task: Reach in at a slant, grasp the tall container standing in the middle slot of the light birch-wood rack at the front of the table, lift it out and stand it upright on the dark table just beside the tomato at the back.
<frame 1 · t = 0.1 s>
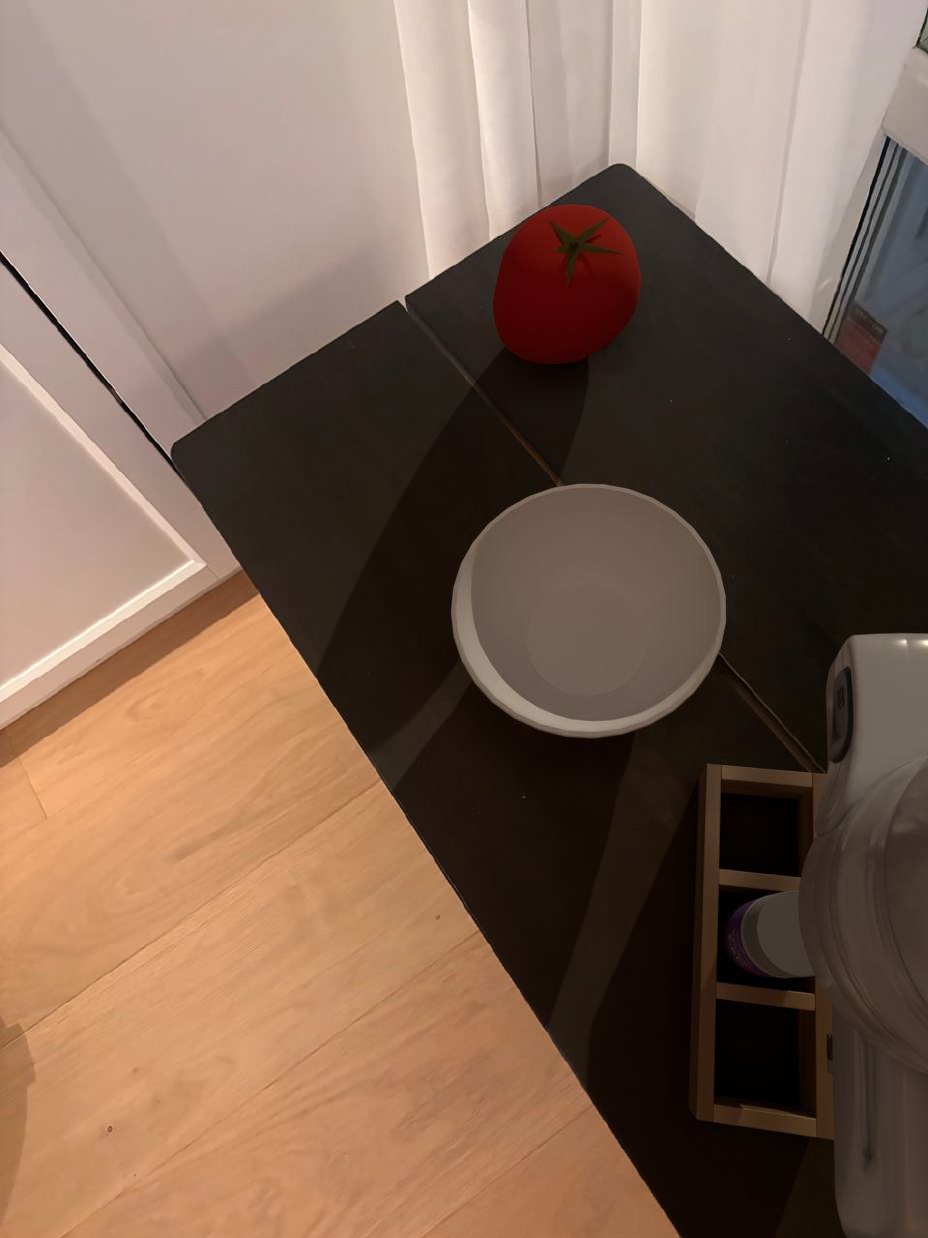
hand: (844, 934, 39), 26 cm above the table, tool pointing down, fingers open, 8 cm apart
tomato: (566, 330, 83), on the table
bowl: (586, 642, 73), on the table
rack: (752, 939, 63), on the table
container: (752, 940, 63), resting in rack
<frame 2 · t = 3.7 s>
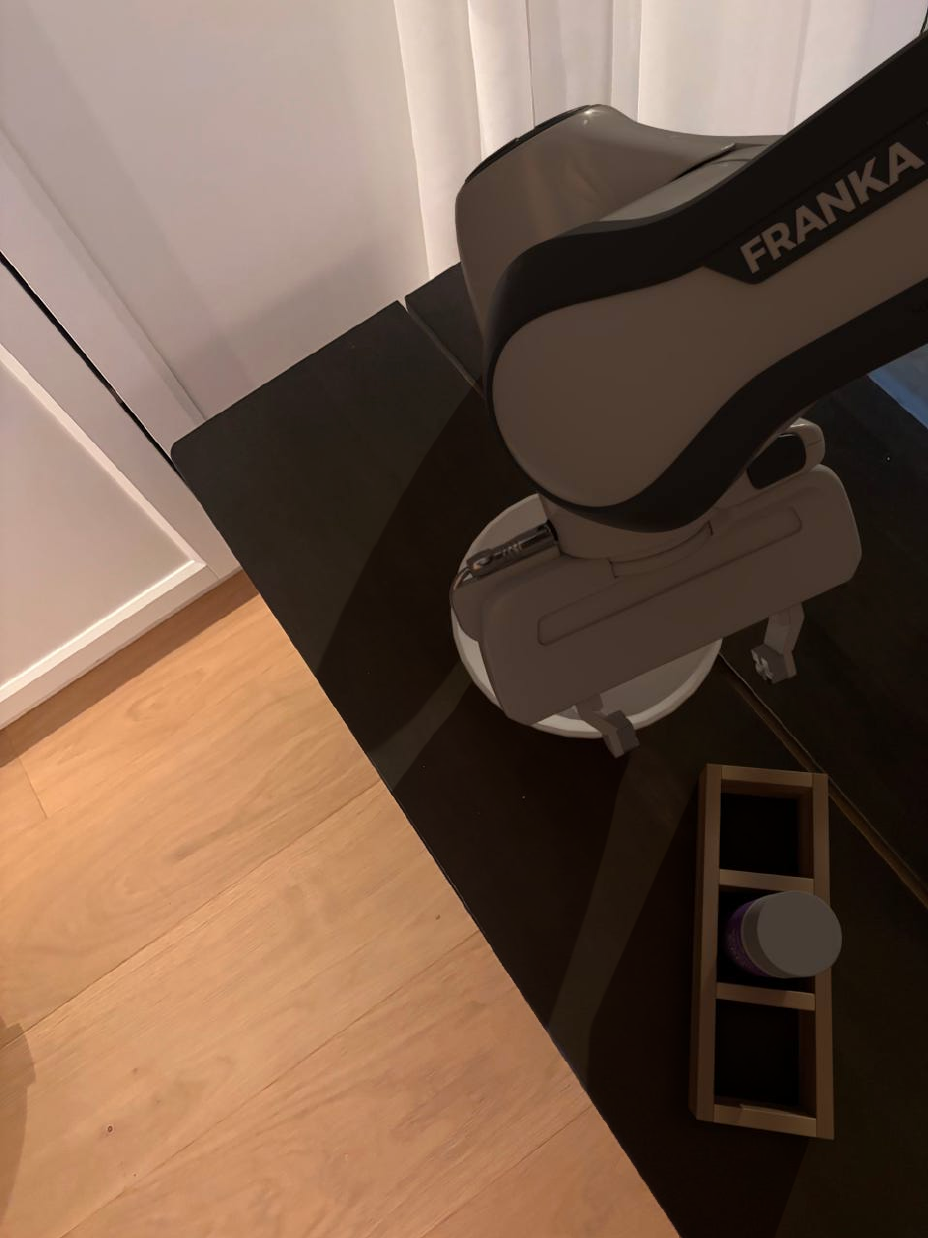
hand: (701, 712, 50), 19 cm above the table, tool tilted 45°, fingers open, 8 cm apart
nothing on the table moved.
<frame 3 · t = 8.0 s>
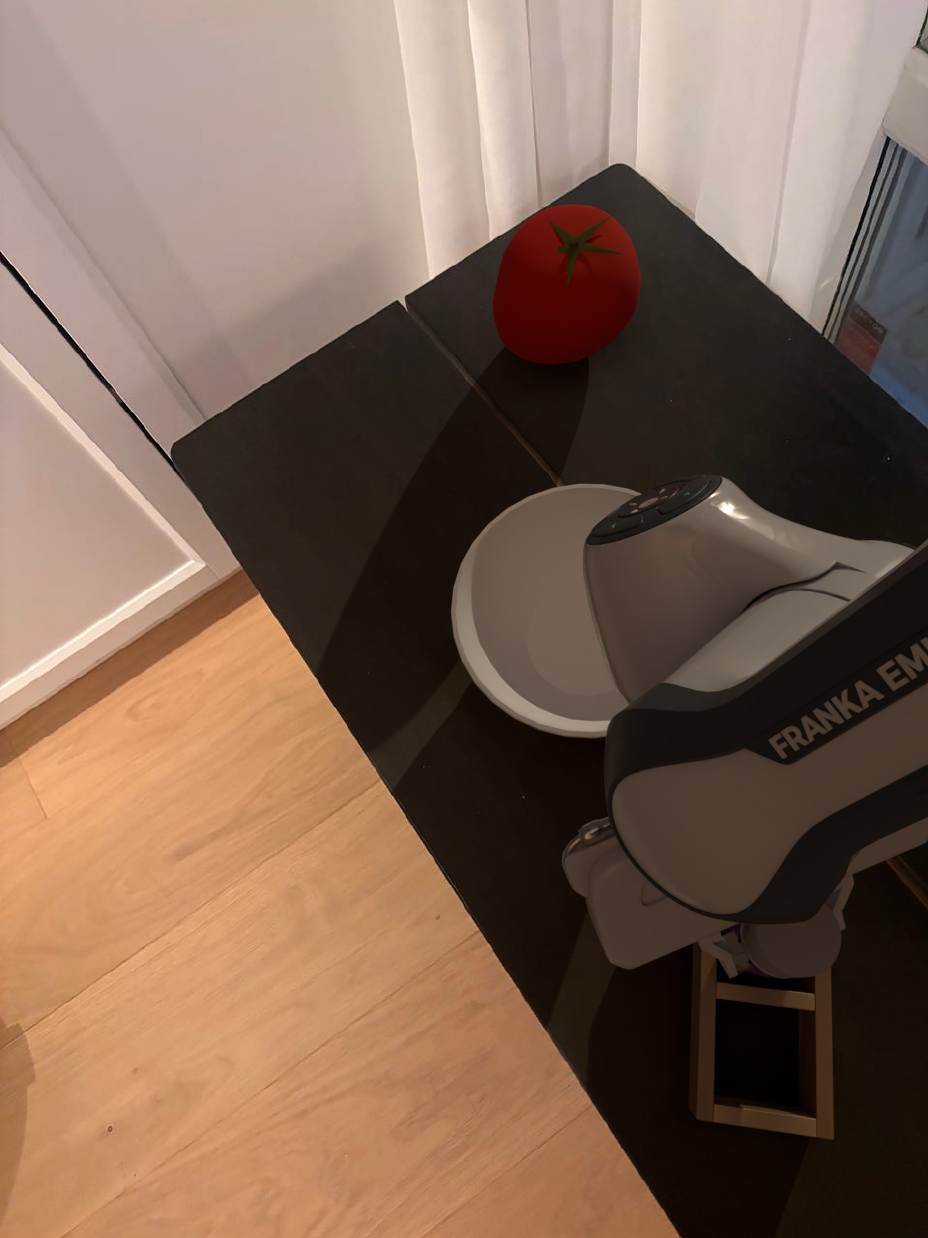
hand: (782, 946, 55), 9 cm above the table, tool tilted 45°, fingers closed on container, 5 cm apart
container: (752, 940, 63), resting in rack, touching gripper
everything else where it was.
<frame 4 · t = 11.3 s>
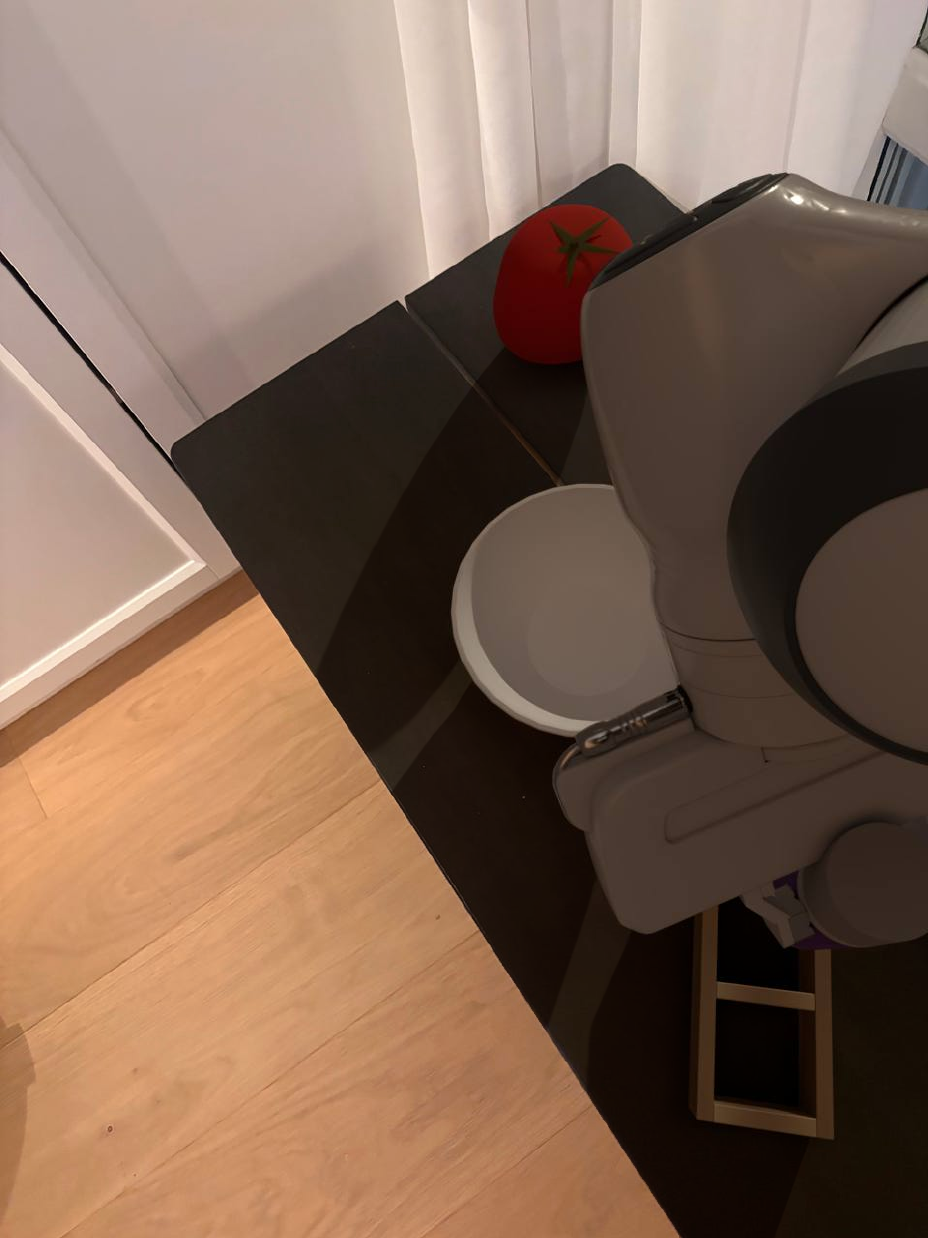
hand: (854, 905, 40), 25 cm above the table, tool tilted 45°, fingers closed on container, 5 cm apart
container: (802, 904, 49), point 16 cm above the table, touching gripper
everything else where it was.
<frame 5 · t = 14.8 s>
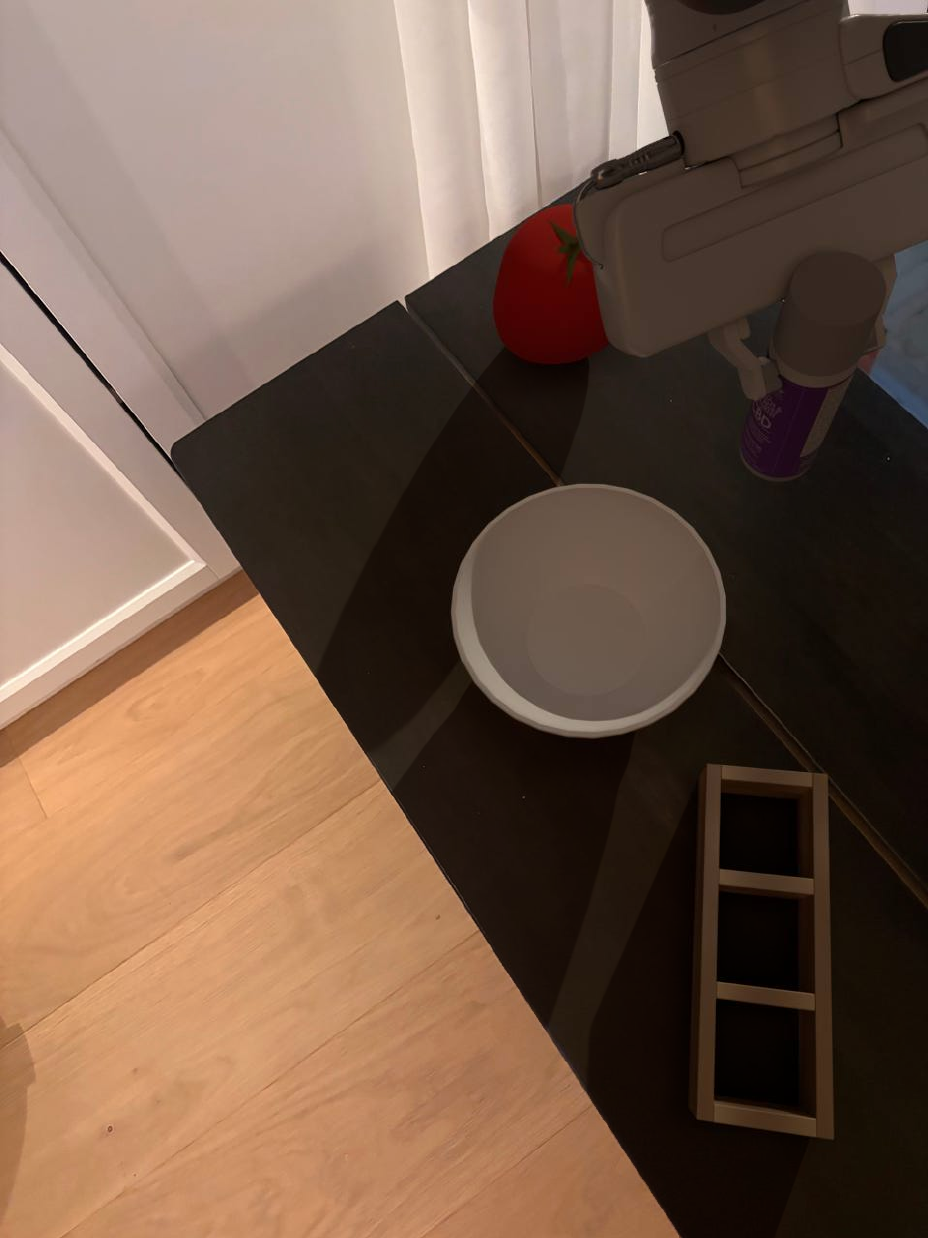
hand: (815, 372, 49), 25 cm above the table, tool tilted 45°, fingers closed on container, 5 cm apart
container: (776, 451, 58), point 16 cm above the table, touching gripper
everything else where it was.
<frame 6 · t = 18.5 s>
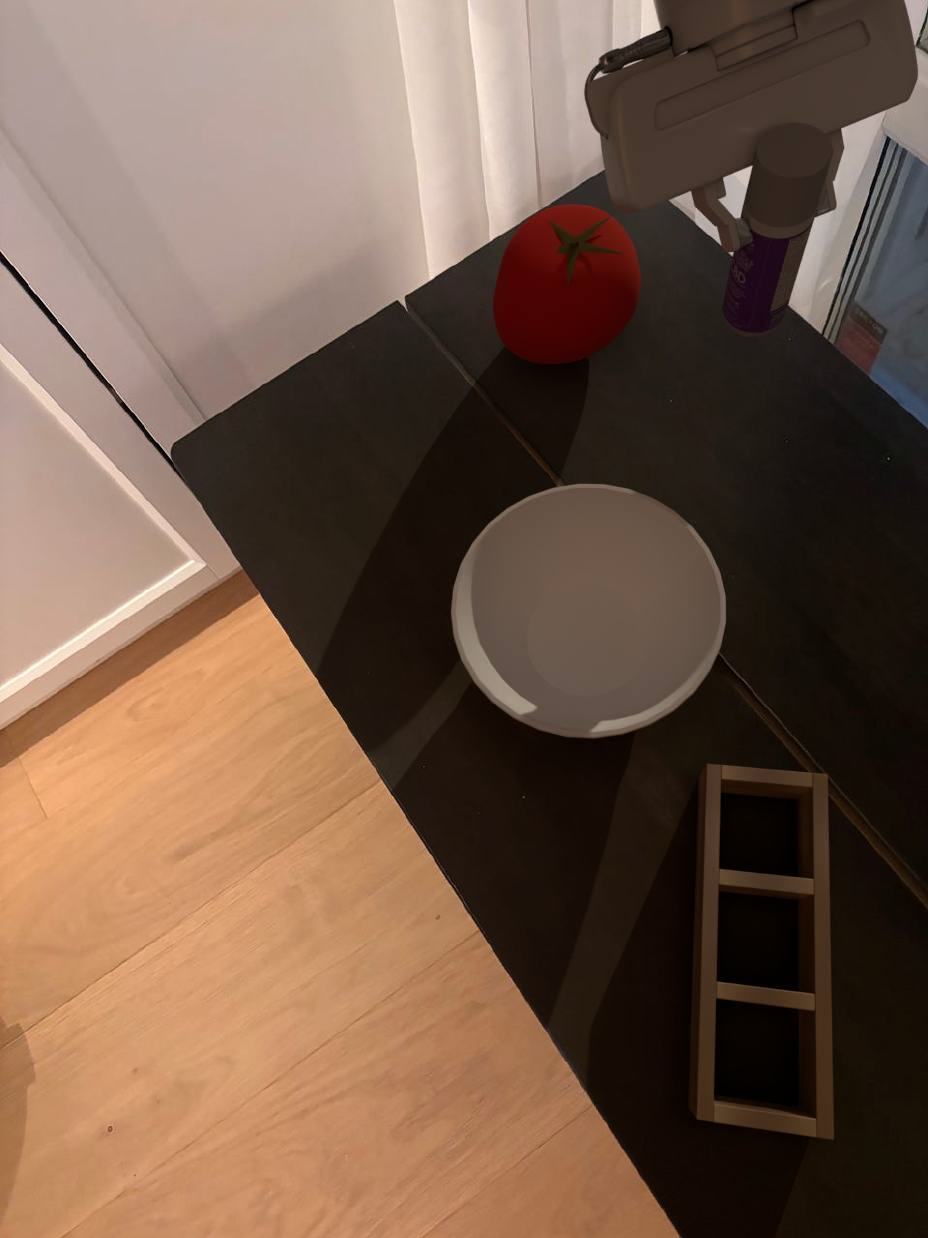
hand: (780, 231, 61), 19 cm above the table, tool tilted 45°, fingers closed on container, 5 cm apart
container: (752, 313, 70), point 10 cm above the table, touching gripper
everything else where it was.
when the fingers open (9 cm above the table, at t = 21.6 s): container stays where it is, on the table.
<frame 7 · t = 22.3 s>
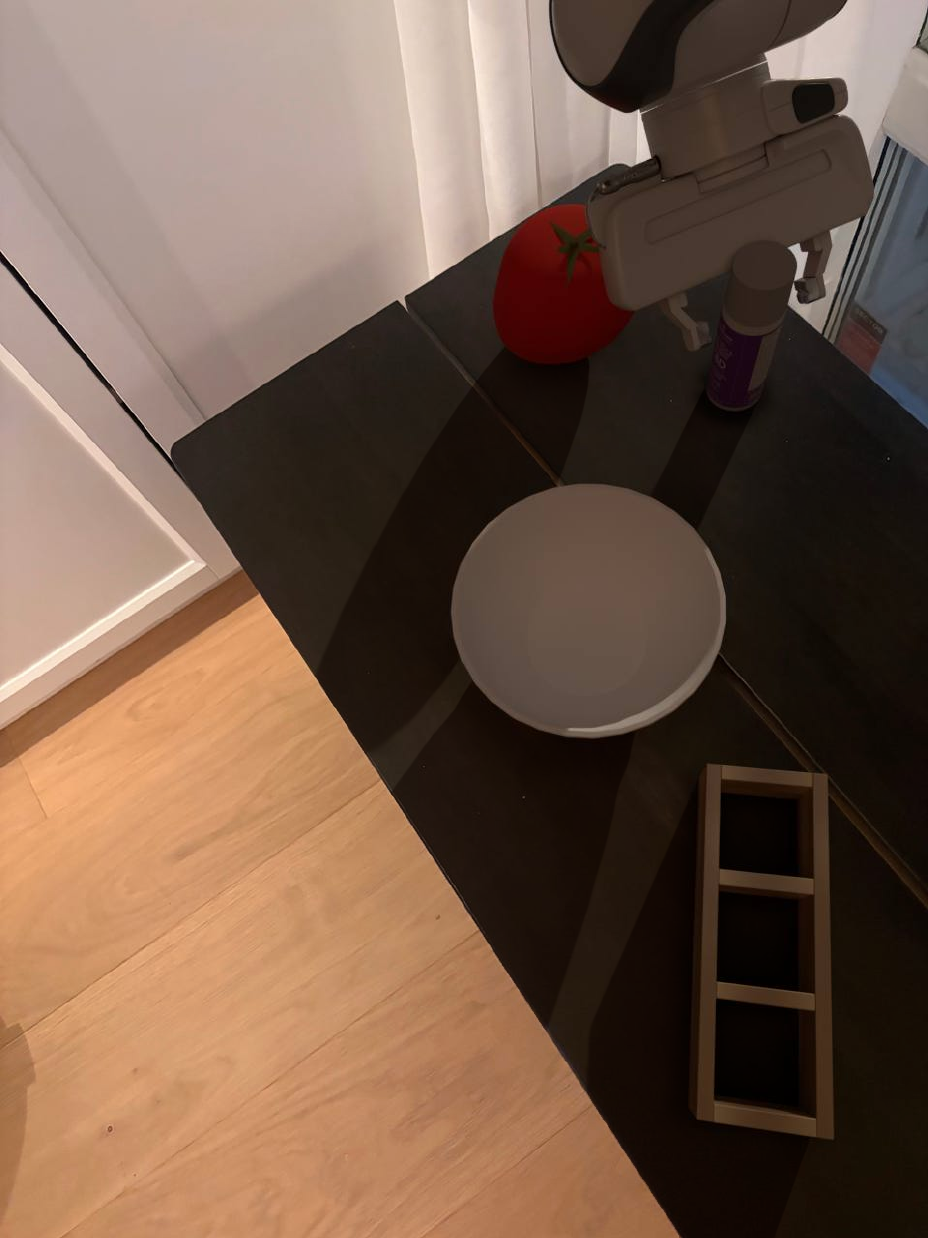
hand: (756, 324, 70), 9 cm above the table, tool tilted 45°, fingers open, 8 cm apart
container: (733, 389, 79), on the table
everything else where it was.
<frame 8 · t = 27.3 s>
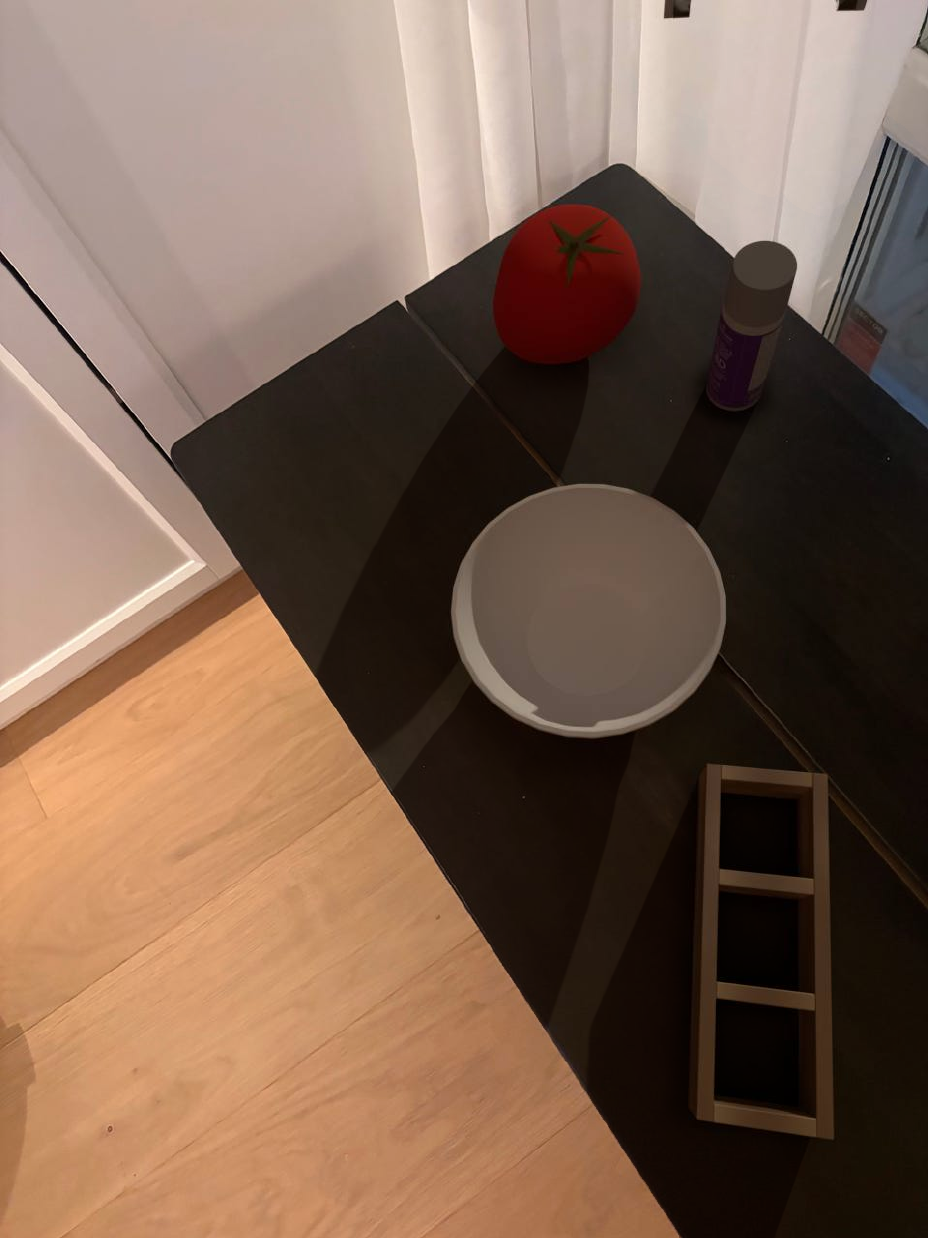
hand: (761, 7, 52), 31 cm above the table, tool pointing down, fingers open, 8 cm apart
nothing on the table moved.
at the end: container inside the target area on the table beside the tomato (0.1 cm from its centre), on the table; container tilted 0°; the gripper is holding nothing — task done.
